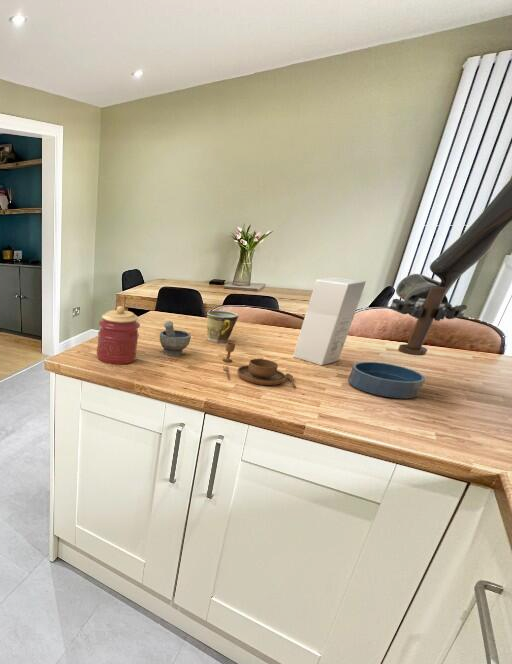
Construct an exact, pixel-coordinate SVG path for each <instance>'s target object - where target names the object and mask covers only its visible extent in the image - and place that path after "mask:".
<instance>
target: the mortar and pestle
mask: <svg viewBox="0 0 512 664" xmlns="http://www.w3.org/2000/svg"><path fill="white" fill-rule="evenodd" d="M163 326H164V328H165V329H164V330H161V331H159V343H160V345H161V347H162V348H163V349H162V353H163V354H164V355H166V356H170V357H179V356H182V355H183V350H185V349H186V348H187V347H188V346H189V344H190V341H191V338H192V335H191V333H190V332H187V331H186V330H185V331H184V330H179V329H174V323H173V322H172V321H171V320H169V321H166V322H165V323H164V324H163Z"/></svg>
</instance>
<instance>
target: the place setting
mask: <svg viewBox="0 0 512 664" xmlns="http://www.w3.org/2000/svg"><path fill="white" fill-rule="evenodd" d="M235 349H236V343H235V342H232V341H231V342H230V341H227V342H226V345H225V351H226V352H227V354H226V358H223V359H222V361H223V362H225V363H233V359H231V354H232V353H233V352H234V351H235ZM278 366H279V363H277V362H276V361H273V360H270V359H265V358H253V359H250V360H249V363H248V365H241V366H239V367H238V368H237V370H236V373H237V375H238V377H240V378H241V379H243V380H244V381H245V382H248V383H252V384H255V385H260V386H274V385H280V384H282V383H283V382H284V381H285V380H286V379H288V380H290V383H291V386H292V387H293V388H296V384H295V383H294V380H293V379H294V376H293V375H292V374H291V373H286V374H285V373H283V372H281V371H280V370H278ZM222 368H223V371H224V372H225V373H226V377H227V380H230V375H229V369H228V365H223V367H222Z"/></svg>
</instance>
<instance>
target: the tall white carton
mask: <svg viewBox="0 0 512 664" xmlns="http://www.w3.org/2000/svg"><path fill="white" fill-rule="evenodd" d="M366 283H367V282H366V280H361V279H360V280H359V279H353V278H345V277H337V276H331V277H325V278H319V279H316V280H315V282H314V285H313V289H312V292H311V296H310V299H309V301H308V302H309V303H308V305H307V309H306V312H305V315H304V318H303V322H302V325H301V329H300V331H299V335H298V339H297V341H296V345H295V349H294V352H293V355H292V357H293V358H296V359H299V360H302V361H305V362H309V363H312V364H315V365H319V366H324V365H328V364H332V363H334V362H338V361H339V360H340V358H341V355H342V353H343V352H342V351H343V349H344V346H345V344H346V341H347V337H348V334H349V332H350V329H351V327H352V323H353V321H354V318H355V314H356V312H357V309H358V305H359V303H360V300H361V297H362V294H363V291H364V288H365V285H366Z"/></svg>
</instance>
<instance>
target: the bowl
mask: <svg viewBox="0 0 512 664" xmlns="http://www.w3.org/2000/svg"><path fill="white" fill-rule="evenodd" d="M347 382H348V384H349V385H351V386H352V387H354V388H356V389H358V390H360V391H363V392H365V393H368V392H369V394H371V395H375V396H380V397H385V398H390V399H413V398H416V397H418V396H419V394H420V393H421V390H422V389H423V386H424V384H425V382H426V376H424V374H422V373H420V372H419V371H416V370H414V369H411V368H408V367H405V366H400V365H398V364H397V365H396V364H392V363H386V362H378V361H359V362H355V363H353V365H352V367H351V370H350V373H349V376H348V378H347Z"/></svg>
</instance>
